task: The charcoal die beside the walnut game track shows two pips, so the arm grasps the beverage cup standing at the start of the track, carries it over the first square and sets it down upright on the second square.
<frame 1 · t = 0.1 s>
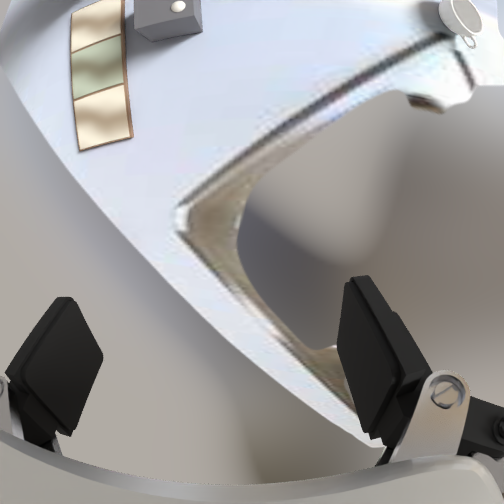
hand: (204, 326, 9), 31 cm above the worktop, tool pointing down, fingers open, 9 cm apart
die: (175, 16, 26), on the worktop
game track: (98, 67, 29), on the worktop
teacup: (451, 24, 25), on the worktop
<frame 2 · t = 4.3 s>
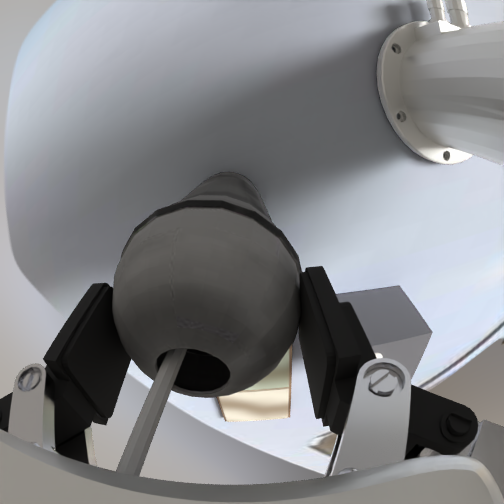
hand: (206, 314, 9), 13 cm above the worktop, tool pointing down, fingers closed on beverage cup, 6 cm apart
die: (363, 318, 27), on the worktop
game track: (249, 363, 29), on the worktop
beverage cup: (228, 200, 21), on the worktop, touching gripper
when the fingers open (15 cm above the worktop, at t = 10.5 s): beverage cup drops 1 cm, resting on game track.
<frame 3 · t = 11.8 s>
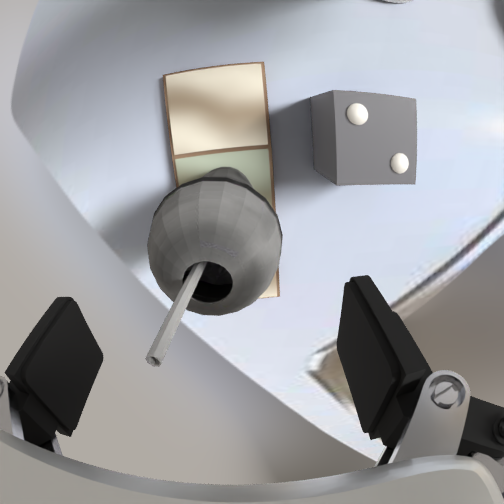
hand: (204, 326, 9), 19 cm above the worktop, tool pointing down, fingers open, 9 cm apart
die: (347, 133, 24), on the worktop
game track: (226, 191, 26), on the worktop
beverage cup: (225, 190, 26), point 1 cm above the worktop, touching game track
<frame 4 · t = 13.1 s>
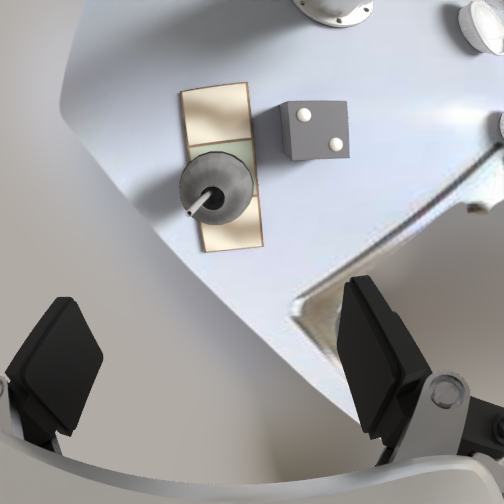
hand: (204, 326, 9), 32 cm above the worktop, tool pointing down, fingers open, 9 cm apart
die: (307, 127, 36), on the worktop
game track: (223, 169, 38), on the worktop
beverage cup: (223, 168, 37), point 1 cm above the worktop, touching game track
ramekin: (472, 30, 25), on the worktop
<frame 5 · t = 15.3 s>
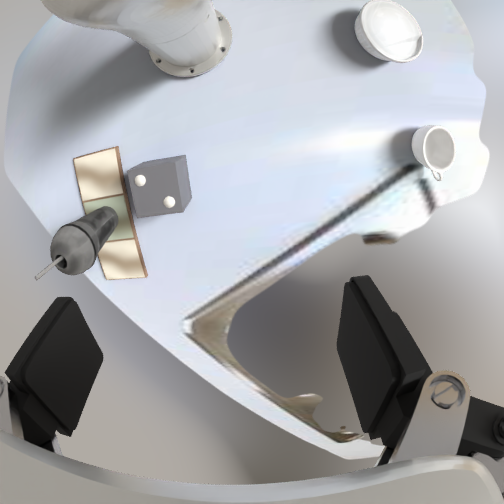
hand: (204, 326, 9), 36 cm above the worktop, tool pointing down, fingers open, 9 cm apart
die: (167, 179, 42), on the worktop
game track: (109, 218, 45), on the worktop
teacup: (423, 150, 41), on the worktop
beverage cup: (107, 218, 44), point 1 cm above the worktop, touching game track
ramekin: (379, 36, 32), on the worktop
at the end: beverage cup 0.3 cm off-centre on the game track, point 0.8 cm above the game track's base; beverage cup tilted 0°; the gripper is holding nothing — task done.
